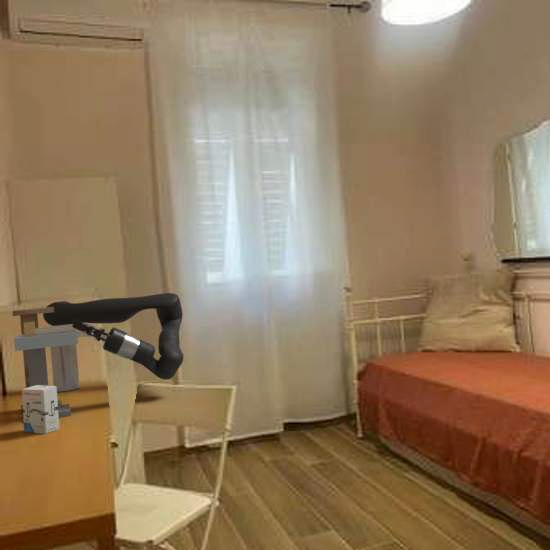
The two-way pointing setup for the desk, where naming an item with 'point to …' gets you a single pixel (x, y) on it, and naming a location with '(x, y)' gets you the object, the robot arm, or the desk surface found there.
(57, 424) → the ink box
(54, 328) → the pin
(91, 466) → the desk surface
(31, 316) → the walnut stand
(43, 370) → the frame
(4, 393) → the desk surface
